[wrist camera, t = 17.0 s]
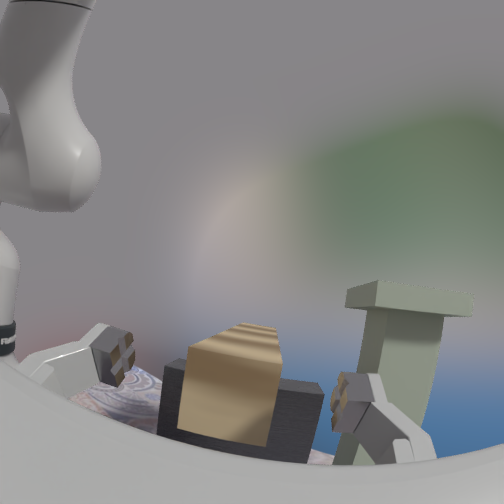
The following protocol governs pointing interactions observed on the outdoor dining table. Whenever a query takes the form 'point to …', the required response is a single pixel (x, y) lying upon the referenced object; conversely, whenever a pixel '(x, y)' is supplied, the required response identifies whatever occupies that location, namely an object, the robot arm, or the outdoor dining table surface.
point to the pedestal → (400, 347)
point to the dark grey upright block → (281, 429)
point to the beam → (232, 385)
